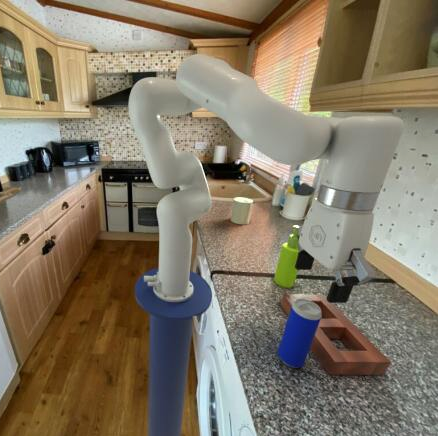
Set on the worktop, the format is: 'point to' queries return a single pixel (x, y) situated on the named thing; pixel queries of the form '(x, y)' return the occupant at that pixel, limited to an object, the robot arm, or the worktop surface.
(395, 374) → the worktop surface
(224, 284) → the worktop surface
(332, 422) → the worktop surface
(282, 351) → the beverage can
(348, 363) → the holder
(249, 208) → the can
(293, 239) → the soap dispenser
